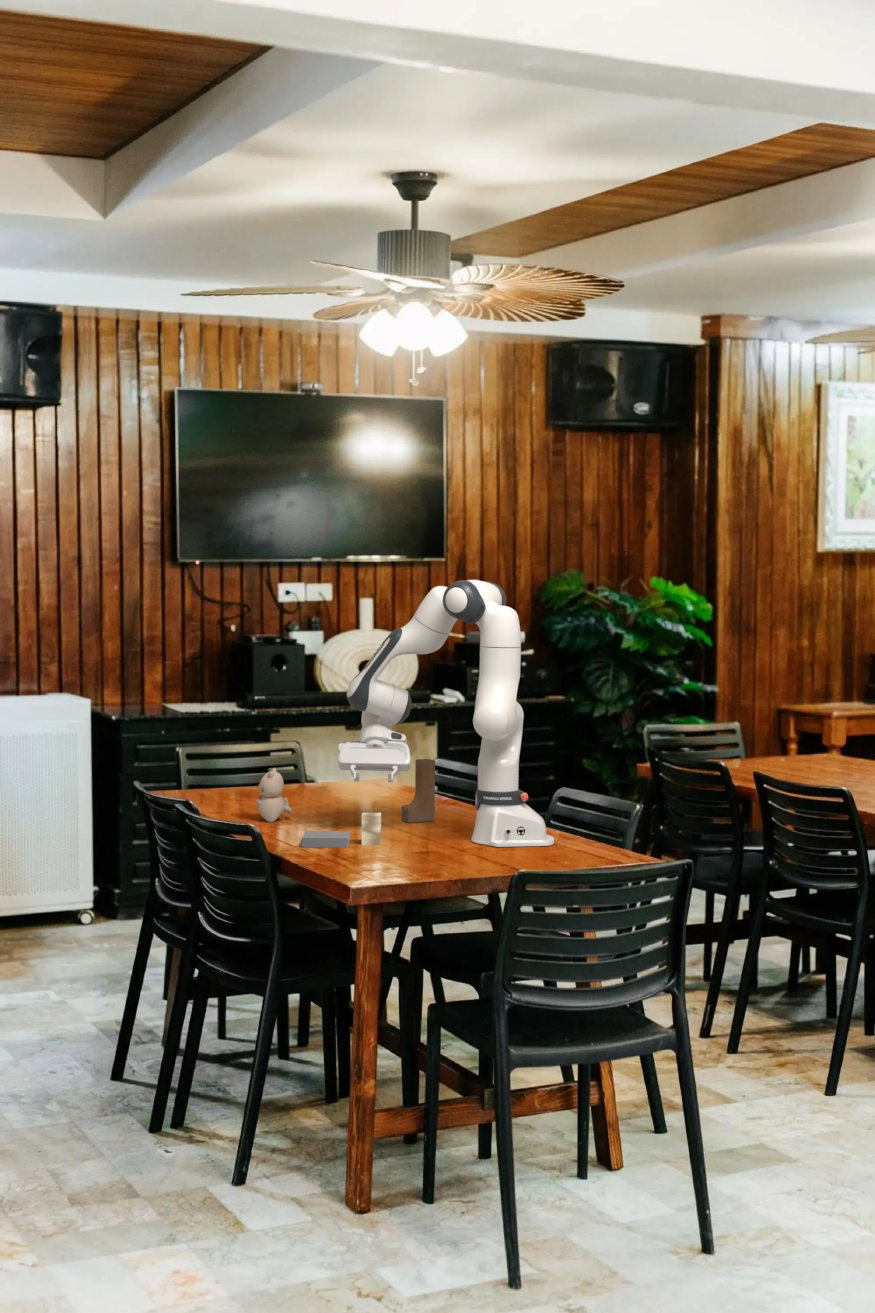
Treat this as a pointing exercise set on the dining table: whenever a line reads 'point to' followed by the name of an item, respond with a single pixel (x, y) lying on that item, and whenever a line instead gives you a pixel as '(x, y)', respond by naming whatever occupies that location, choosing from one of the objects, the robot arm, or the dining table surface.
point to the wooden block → (422, 794)
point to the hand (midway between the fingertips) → (373, 780)
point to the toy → (272, 796)
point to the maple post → (371, 828)
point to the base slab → (326, 839)
